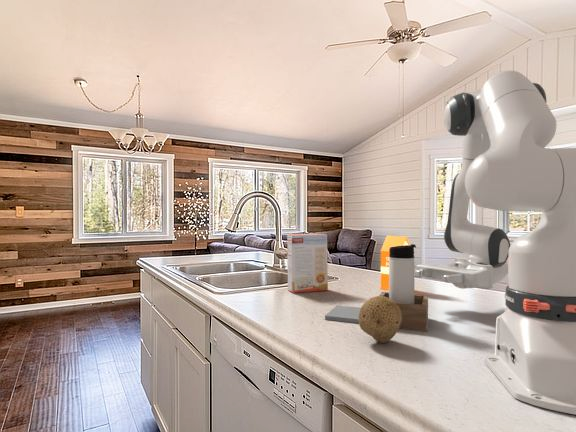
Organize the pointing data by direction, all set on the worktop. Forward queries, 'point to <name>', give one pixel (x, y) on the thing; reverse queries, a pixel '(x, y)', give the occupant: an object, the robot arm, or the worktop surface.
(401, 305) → the wooden box
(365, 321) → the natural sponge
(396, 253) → the travel mug
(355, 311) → the mat
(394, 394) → the worktop surface
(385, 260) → the orange juice
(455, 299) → the worktop surface
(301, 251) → the cracker box
